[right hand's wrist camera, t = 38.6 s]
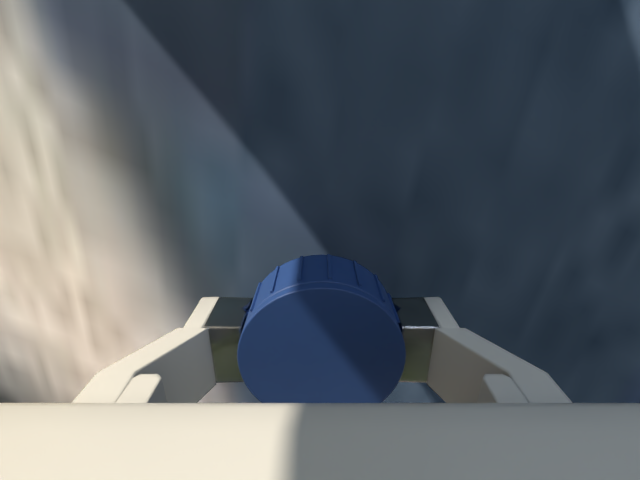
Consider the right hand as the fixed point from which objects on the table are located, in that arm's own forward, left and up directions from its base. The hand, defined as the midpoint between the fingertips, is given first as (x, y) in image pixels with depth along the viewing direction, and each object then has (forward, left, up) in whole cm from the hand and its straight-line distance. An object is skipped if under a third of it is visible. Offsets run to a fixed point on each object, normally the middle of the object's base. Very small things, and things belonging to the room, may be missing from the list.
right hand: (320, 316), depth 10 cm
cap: (0, 0, +2) cm, 2 cm away
